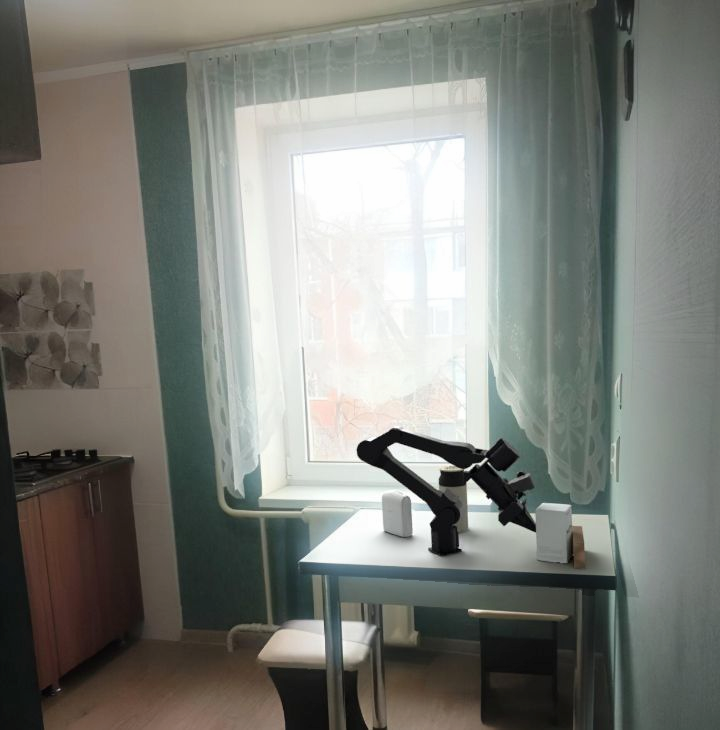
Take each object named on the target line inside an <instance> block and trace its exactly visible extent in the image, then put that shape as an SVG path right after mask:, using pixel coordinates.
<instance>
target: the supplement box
mask: <svg viewBox="0 0 720 730" xmlns="http://www.w3.org/2000/svg"><path fill="white" fill-rule="evenodd" d="M534 512H535V523H536V533H535V537H536V538H535V541H536V560H537V561H543V562H549V563H556V562H560V563H559V564H563V563H567V564H568V562H569V561H570V560H571V558H572V557H573V533H572V526H573V517H572V516H573V515H572V514H573V513H572V504H564V503H551V502H542V503H541V504H540V505H539V506H537V508H535V510H534Z"/></svg>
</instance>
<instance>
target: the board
mask: <svg viewBox="0 0 720 730" xmlns="http://www.w3.org/2000/svg"><path fill="white" fill-rule="evenodd" d="M572 533H573V555H572V557H573V566H574V567H573V568H574V569H579V568H585V569H586V553H585V552H586V551H585V548H586V547H585V539H584V532H583V526H582V525H572Z"/></svg>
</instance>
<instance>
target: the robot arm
mask: <svg viewBox="0 0 720 730" xmlns="http://www.w3.org/2000/svg"><path fill="white" fill-rule="evenodd" d="M395 444H398V445H399V444H400V445H403V446H406V447H408V448H413V449H415V450H418V451H422V452H424V453H427V454H430V455H434V456H437V457H439V458H441V459H443V460H444V461H445V462H446V463H448V464H451V465H454V466H456V467H458V468H460V469H464V472H463V475H464V481H463V482H464V483H468V482H469V480H471V481H473V482H474V483H475V484H476V485H477V486H478V488H479V489H481V490H482V492H484V494H485V495H486V496H485V497H486V499H487V500H491V501H492V502H493V503H494V504H495V505H496V506H497V510H498V511H499V512H498V514H497V520H498V522H499V523H500V524H501V525H502V527H505V526H507V525H508V524H509V523H512V524H514V525H517V526H519V527H522V528H524V529H526V530H527V531H531V532H533V533H535V534H536V520H534V518H533V516H532V515H531V513H530V512H529V509H528V501H527V498H526V499H524V500H523V501H521V500H520V499H521V498H523V497H525V496H527V493H528V492H527V491H531V490H534V489H535V487H536V483H535V481H534V479H533V475H531V473H530V472H525V471H524V470H519V471H517V473H516V477H515V478H513V479H512V480H509V479H508V478H507V477H502V476H501V475H500V474H499V473H500V472H501V471H502V472H507V471H508V470H509V469H510V467H512V466H513V465H514V464H515V463H517V461H519V459H521V458H522V455H521V454H520V452H519V451H518V450H517V448H516V447H514V445H512V444H511V443H509V442H508V441H507V440H505V439H504V438H503V437H500V438H498V439H497V440H496V442H495V444H493V445H492V446H491V447H490V448H489V449H488V450H487V449H483V448H477V447H475V446H474V445H473V444H471V443H468V442H462V441H452V440H451V441H449V440H442V439H439V438H436V437H432V436H429V435H426V434H422V433H419V432H416V431H413V430H410V429H407V428H404V427H403V426H400V425H395V426H393V427H392V428H390V429H389V430H388V431H386V432H384V433H383V434H381V435H379V436H377V437H376V436H371V437H368V438H366V439H364V440H362V441H360V442H359V443H358V444H357V446H356V456H357V458H358V459H359V460H360V461H362V462H364V463H365V464H368V465H369V466H371V467H375V468H377V469H380V470H382V471H384V472H385V473H386V474H388V475H390V476H391V477H392V478H393V479H395V480H396V481H397V482H398V483H400V484H401V485H402V486H404V487H405V488H406V489H408V490H409V491H410V492H411V493H413V494H414V495H415V496H417V497H418V498H419V499H420V500H422V501H423V502H424V503H426V505H427V507H428V508H429V509H430V511H431V512H432V514H433V515H434V517H433V518H432V519H431V521H430V523H429V527H430V538H431V539H430V541H431V542H430V543H431V547H428V548H427V549H428V551H429V552H432V553H434V554H437V555H439V556H441V557H446V556H449V555H454V554H457V553H461V552H463V549H462V548H460V535H459V534H460V533H459V532H458V531H457V526H454V524H456V523H457V522H458V521H459V519H460V517H461V516H462V514H463V511H464V507H463V503H462V502H461V501H460V500H459V498H460V497H459V496H456V495H455V494H453V493H452V492H451V491H450V490H449V489H448V488H446V489H445V491H444V492H443V491H440V490H439V489H437V488H435V487H434V486H432V484H430V483H429V482H428V481H426V480H425V479H424V478H422V477H421V476H419V475H418V473H415V472H414V471H413V470H411V469H410V468H409V467H408V466H406V465H405V463H402V462H401V461H400V460H399V459H398V458H396V457H395V456H394V455H393V454H392V452H391V451H390V449H389V447H390V446H393V445H395ZM485 459H486V460H485ZM484 460H485V461H484ZM482 462H483V463H482ZM474 464H475V465H474ZM479 464H480V465H479ZM473 465H474V466H473ZM470 467H471V468H470ZM468 468H470V469H469V470H467V469H468ZM498 472H499V473H498Z"/></svg>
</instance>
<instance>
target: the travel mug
mask: <svg viewBox="0 0 720 730" xmlns="http://www.w3.org/2000/svg"><path fill="white" fill-rule="evenodd" d="M438 470H439V473H440V475H439V477H438V490H440V491H443V492H444V491H445V489H446V488H448V489H449V490H450V491H451V492H452V493H453V494H455V495H456V496H459V497H460V498H459V500H460V501H461V502H462V503H463V507H464V511H463V514H462V516H461V517H460V519H459V521H458V522H457V523H456V524H454V526H457V531H458V532H460V533H464V532H466V531H468V529H469V513H468V508H469V506H468V489H467V488H468V487H467V486H468V485H467V483H468V482H467V483H464V482H463V481H464V475H463V472H464V471H465V469H460V468H458V467H456V466H454V465H452V464H451V465H448V464H447V465H444V466H443V465H442V466H440V467H439V468H438Z"/></svg>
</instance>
